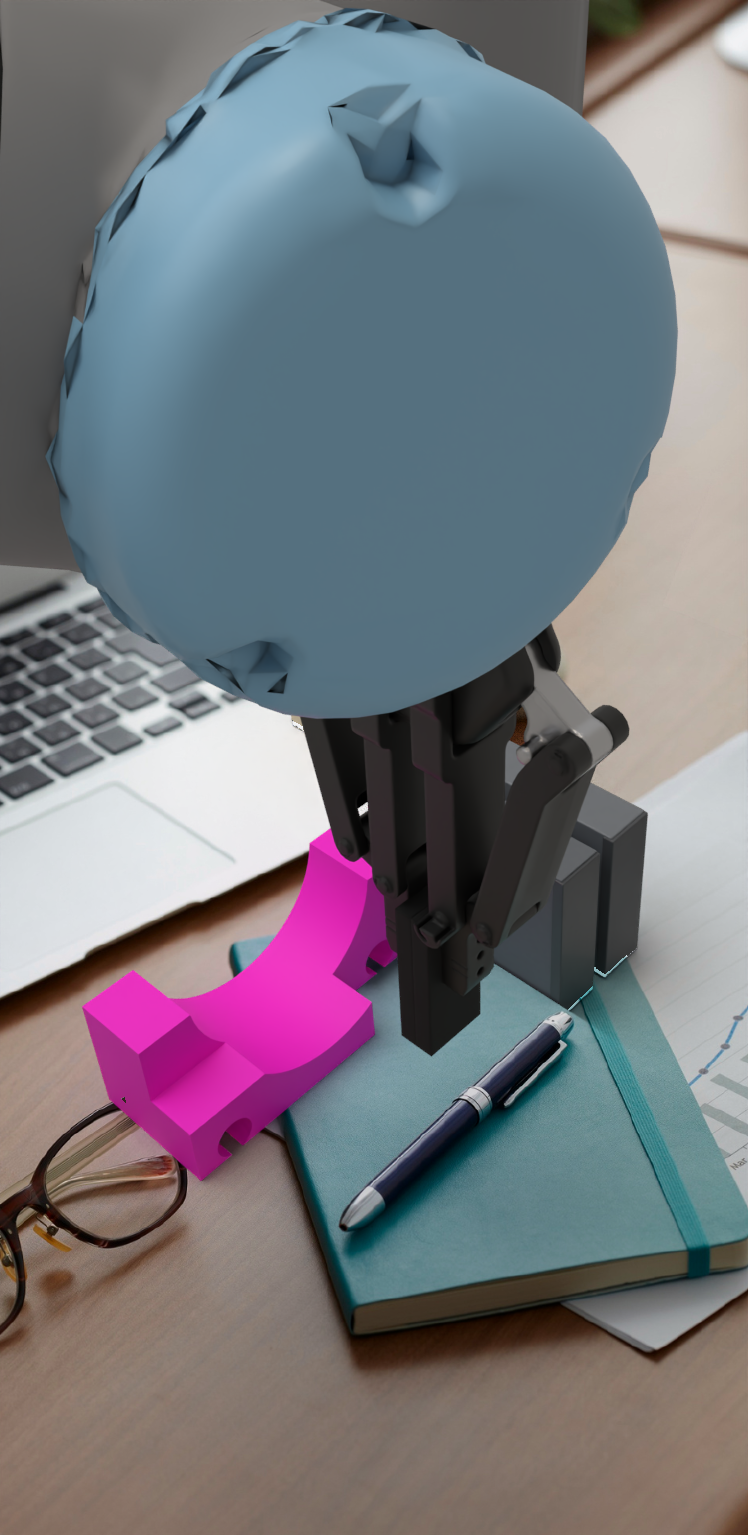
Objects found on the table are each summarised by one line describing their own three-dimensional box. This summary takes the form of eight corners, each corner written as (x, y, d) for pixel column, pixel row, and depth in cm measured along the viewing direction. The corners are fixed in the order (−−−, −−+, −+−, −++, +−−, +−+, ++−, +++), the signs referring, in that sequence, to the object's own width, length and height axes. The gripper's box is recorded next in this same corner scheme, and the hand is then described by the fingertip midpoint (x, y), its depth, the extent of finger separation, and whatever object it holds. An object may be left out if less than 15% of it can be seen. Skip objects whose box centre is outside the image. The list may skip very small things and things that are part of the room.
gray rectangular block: (558, 1023, 66) (563, 883, 60) (429, 939, 70) (421, 802, 65) (593, 991, 67) (600, 851, 61) (463, 910, 72) (459, 774, 66)
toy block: (205, 1200, 59) (178, 1088, 55) (114, 1118, 63) (81, 1006, 58) (445, 995, 67) (439, 881, 63) (352, 932, 71) (340, 820, 66)
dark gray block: (605, 980, 67) (613, 840, 62) (475, 901, 72) (472, 764, 66) (637, 949, 69) (648, 810, 63) (508, 874, 73) (507, 737, 68)
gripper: (716, 453, 36) (647, 1058, 51) (351, 330, 43) (384, 890, 58) (526, 572, 32) (511, 1192, 47) (159, 414, 39) (247, 993, 54)
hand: (441, 1024), depth 52 cm, fingers closed
